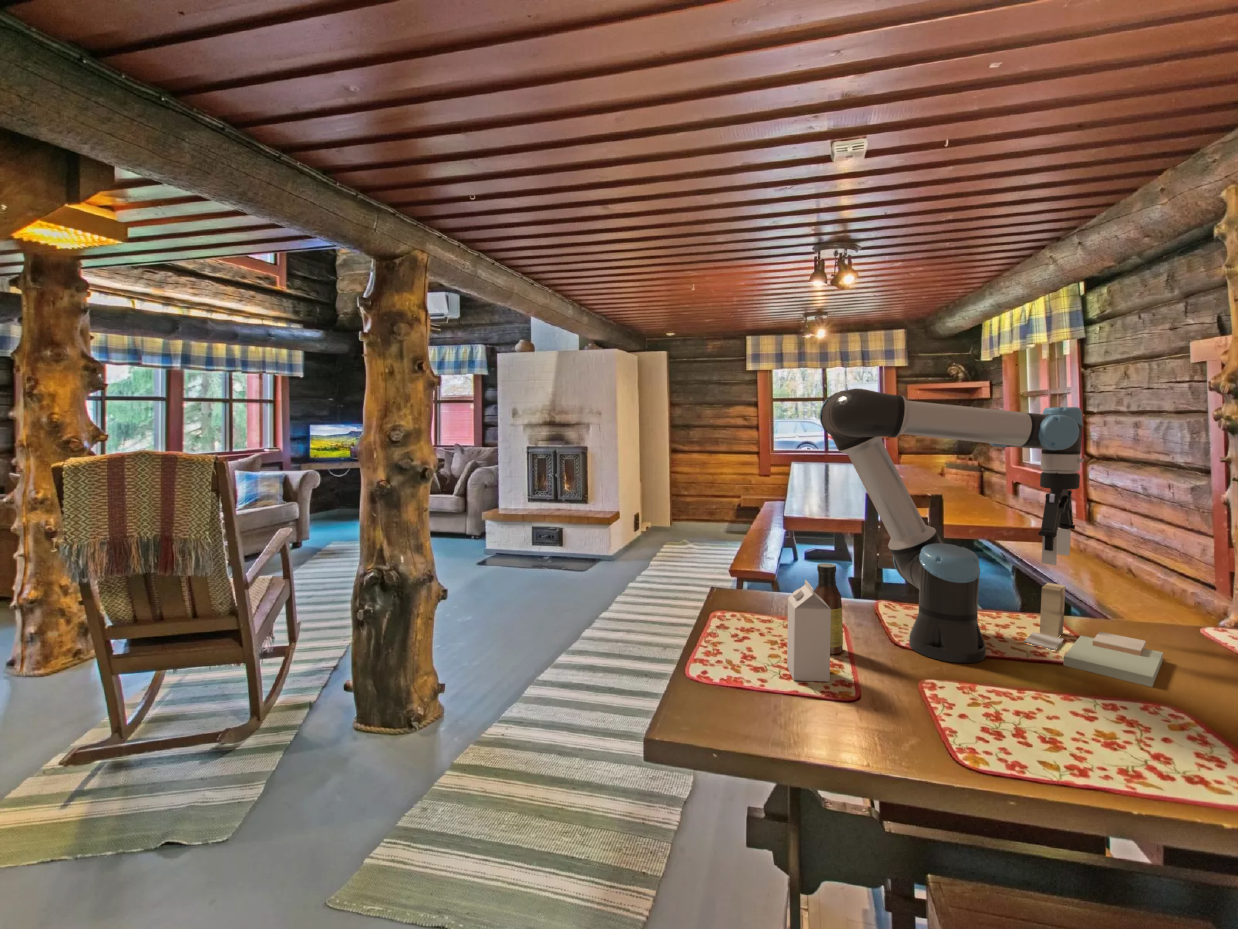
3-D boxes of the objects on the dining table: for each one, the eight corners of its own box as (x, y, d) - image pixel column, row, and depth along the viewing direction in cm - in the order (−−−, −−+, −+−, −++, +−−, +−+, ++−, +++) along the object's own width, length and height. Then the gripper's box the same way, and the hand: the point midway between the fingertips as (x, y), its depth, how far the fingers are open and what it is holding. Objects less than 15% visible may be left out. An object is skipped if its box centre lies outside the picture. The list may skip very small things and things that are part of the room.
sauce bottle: (845, 648, 133) (847, 563, 131) (839, 658, 127) (841, 569, 126) (816, 643, 136) (817, 560, 135) (809, 651, 131) (810, 566, 129)
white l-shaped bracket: (1039, 628, 145) (1041, 581, 144) (1069, 634, 140) (1071, 586, 139) (1023, 643, 135) (1025, 593, 134) (1054, 651, 130) (1057, 599, 129)
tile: (1099, 636, 134) (1099, 631, 134) (1145, 646, 128) (1145, 640, 128) (1092, 645, 128) (1092, 640, 128) (1140, 656, 122) (1140, 650, 122)
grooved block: (1080, 643, 135) (1081, 635, 135) (1162, 661, 124) (1163, 652, 124) (1063, 665, 123) (1063, 656, 123) (1152, 687, 112) (1152, 677, 112)
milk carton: (820, 667, 122) (822, 580, 121) (829, 682, 115) (831, 589, 114) (786, 666, 123) (788, 579, 122) (793, 681, 116) (794, 588, 115)
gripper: (1067, 476, 127) (1063, 571, 128) (1090, 469, 143) (1086, 553, 145) (1026, 474, 132) (1023, 565, 134) (1053, 468, 149) (1049, 549, 150)
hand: (1055, 559), depth 139 cm, fingers open, 13 cm apart
